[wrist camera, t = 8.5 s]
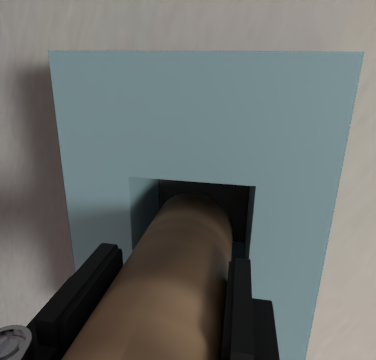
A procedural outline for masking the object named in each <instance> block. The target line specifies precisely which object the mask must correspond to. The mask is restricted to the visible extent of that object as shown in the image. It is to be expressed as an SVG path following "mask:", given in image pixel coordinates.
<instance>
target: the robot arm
mask: <svg viewBox="0 0 376 360" xmlns="http://www.w3.org/2000/svg"><path fill="white" fill-rule="evenodd" d="M122 267H123V254H122V249H119V248H118V246H117V244H109V243H101V244H100V245H99V246H98V247H97V248H96V250H95V251H94V252H93V253H92V254H91V255H90V256H89V258H88V259H87V260H86V261H85V262H84V263H83V264H82V266H81V267H80V268H79V269H78V270H77V271H76V272H75V273H74V275H72V276H71V277H70V278H69V279H68V280H67V281H66V282H65V283H64V284H63V286H62V287H61V288H60V289H59V290H58V291H57V292H56V293H55V295H54V296H53V297H52V298H51V299H50V300H49V301H48V302H47V304H46V305H45V306H44V307H43V308H42V309H41V310H40V312H39V313H38V314H37V315H36V316H35V317H34V318H33V319H32V321H31V322H30V323H29V324H28V325H27V326H26V327H25V326H21V325H11V326H6V327H3V328H0V360H62V358H63V357H64V355H65V354H66V352H67V351H68V349H69V348H70V346H71V344H72V343H73V341H74V340H75V338H76V337H77V335H78V334H79V332H80V331H81V329H82V328H83V326H84V325H85V323H86V322H87V320H88V318H89V317H90V315H91V314H92V312H93V311H94V309H95V308H96V306H97V305H98V303H99V302H100V300H101V299H102V297H103V296H104V294H105V293H106V291H107V289H108V288H109V286H110V285H111V283H112V282H113V280H114V279H115V277H116V276H117V274H118V273H119V271H120V270H121V268H122ZM221 360H280V357H279V350H278V342H277V334H276V327H275V319H274V311H273V304H272V301H270V300H263V299H255V298H252V283H251V260H250V259H243V258H235V262H233V261H229V267H228V279H227V292H226V304H225V316H224V328H223V341H222V354H221Z"/></svg>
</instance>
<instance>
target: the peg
mask: <svg viewBox="0 0 376 360" xmlns="http://www.w3.org/2000/svg"><path fill="white" fill-rule="evenodd" d="M232 239H233V225H232V221H231V218H230V216H229V214H228V212H227V210H226V209H225V208H224V207H223V205H221V204H220V203H219V202H218V201H217V200H215V199H214V198H212V197H210V196H208V195H205V194H201V193H196V192H188V193H182V194H178V195H176V196H174V197H172V198H170V199H169V200H168V201H166V202H165V203H164V204H163V206H162V207H161V208H160V210H159V212H158V213H157V215H156V216H155V218H154V219H153V221H152V222H151V224H150V225H149V227H148V228H147V230H146V231H145V233H144V234H143V236H142V238H141V239H140V241H139V242H138V244H137V245H136V247H135V248H134V250H133V251H132V253H131V254H130V256H129V257H128V259H127V260H126V262H125V263H124V265H123V267H122V268H121V270H120V271H119V273H118V274H117V276H116V277H115V279H114V280H113V282H112V283H111V285H110V286H109V288H108V289H107V291H106V293H105V294H104V296H103V297H102V299H101V300H100V302H99V303H98V305H97V306H96V308H95V309H94V311H93V312H92V314H91V315H90V317H89V318H88V320H87V322H86V323H85V325H84V326H83V328H82V329H81V331H80V332H79V334H78V335H77V337H76V338H75V340H74V341H73V343H72V344H71V346H70V348H69V349H68V351H67V352H66V354H65V355H64V357H63V358H62V360H221V354H222V341H223V328H224V316H225V304H226V292H227V279H228V267H229V261H231V254H232Z"/></svg>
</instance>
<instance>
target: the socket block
mask: <svg viewBox="0 0 376 360" xmlns="http://www.w3.org/2000/svg"><path fill="white" fill-rule="evenodd" d="M48 56H49V64H50V73H51V81H52V89H53V97H54V105H55V113H56V121H57V129H58V137H59V146H60V154H61V162H62V170H63V178H64V186H65V194H66V202H67V210H68V218H69V227H70V235H71V243H72V251H73V259H74V267H75V272H76V271H77V270H78V269H79V268H80V267H81V266H82V264H83V263H84V262H85V261H86V260H87V259H88V258H89V256H90V255H91V254H92V253H93V252H94V251H95V250H96V248H97V247H98V246H99V245H100V244H101V243H109V244H117V246H118V248H119V249H122V254H123V265H124V263H125V262H126V260H127V259H128V257H129V256H130V254H131V253H132V251H133V250H134V248H135V247H136V245H137V244H138V242H139V241H140V239H141V238H142V236H143V234H144V233H145V231H146V230H147V228H148V227H149V225H150V224H151V222H152V221H153V219H154V218H155V216H156V215H157V213H158V212H159V179H164V180H177V181H191V182H204V183H218V184H231V185H245V186H250V192H249V203H248V214H247V226H246V237H245V243H242V242H232V254H231V261H233V262H235V258H243V259H250V260H251V283H252V298H255V299H263V300H270V301H272V304H273V311H274V319H275V327H276V334H277V342H278V350H279V357H280V360H305V359H306V354H307V348H308V343H309V338H310V333H311V327H312V322H313V317H314V312H315V307H316V301H317V296H318V291H319V286H320V280H321V275H322V270H323V265H324V260H325V254H326V249H327V244H328V239H329V233H330V228H331V223H332V218H333V213H334V207H335V202H336V197H337V192H338V187H339V181H340V176H341V171H342V166H343V160H344V155H345V150H346V145H347V140H348V134H349V129H350V124H351V119H352V113H353V108H354V103H355V98H356V93H357V87H358V82H359V77H360V72H361V66H362V61H363V56H364V52H280V51H48Z"/></svg>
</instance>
